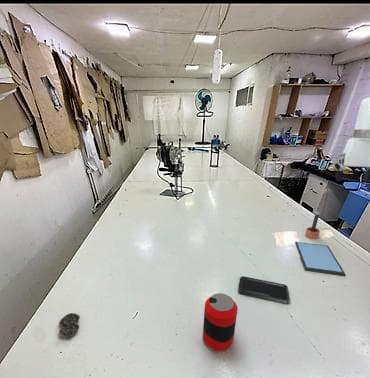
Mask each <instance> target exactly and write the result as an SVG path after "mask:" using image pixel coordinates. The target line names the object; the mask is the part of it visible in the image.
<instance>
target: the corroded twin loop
mask: <svg viewBox="0 0 370 378" xmlns="http://www.w3.org/2000/svg"><path fill="white" fill-rule="evenodd" d="M80 318H81V316H80V315H79V314H77V313H74V312H73V313H71V312H70V313H67V314H65V315H63V317H62V318H61V319H60V320H59V322H58V325H59V326H61V328H60V329H59V330H58V334H59V335H60V336H61V337H63V338H69V339H70V338H71V337H74V335H75V334H76V333H77V332H78V331H79V329H80V324H78V322H79V320H80Z"/></svg>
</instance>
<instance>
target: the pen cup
mask: <svg viewBox="0 0 370 378" xmlns="http://www.w3.org/2000/svg"><path fill="white" fill-rule="evenodd" d="M311 228H312V226H308V227H306V229H305V233H304V237H305V238H307V239H310V240H314V241H315V240H318V239H319V238H320V234H321V230H320V229H319V228H317V227H316V229H315V232H312V231H311Z"/></svg>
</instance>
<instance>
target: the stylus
mask: <svg viewBox="0 0 370 378" xmlns="http://www.w3.org/2000/svg"><path fill="white" fill-rule="evenodd" d="M320 214H321V212H320V211H315V213H314V217H313V220H312V225H311V227H312V228H311V231H312V232H315V229H316V228H317V224H318V221H319V218H320Z"/></svg>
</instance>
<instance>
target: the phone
mask: <svg viewBox="0 0 370 378" xmlns="http://www.w3.org/2000/svg"><path fill="white" fill-rule="evenodd" d="M237 287H238V288H237V292H238V294H239V295H244V296H248V297H252V298H256V299H257V298H258V299H262V300H267V301H270V302H271V301H272V302H276V303H281V304H289V302H290V294H289V287H288V286H287V284H285V283H279V282H274V281H269V280H265V279H260V278H254V277H249V276H244V275H243V276H240V277H239V282H238V286H237Z"/></svg>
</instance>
